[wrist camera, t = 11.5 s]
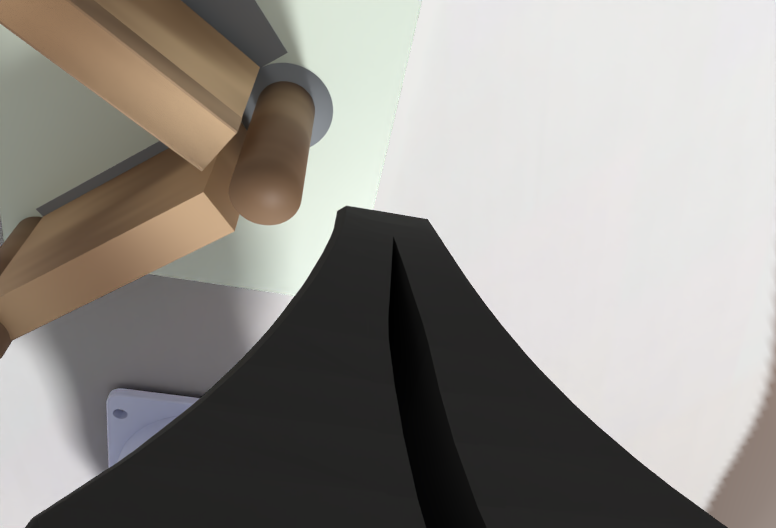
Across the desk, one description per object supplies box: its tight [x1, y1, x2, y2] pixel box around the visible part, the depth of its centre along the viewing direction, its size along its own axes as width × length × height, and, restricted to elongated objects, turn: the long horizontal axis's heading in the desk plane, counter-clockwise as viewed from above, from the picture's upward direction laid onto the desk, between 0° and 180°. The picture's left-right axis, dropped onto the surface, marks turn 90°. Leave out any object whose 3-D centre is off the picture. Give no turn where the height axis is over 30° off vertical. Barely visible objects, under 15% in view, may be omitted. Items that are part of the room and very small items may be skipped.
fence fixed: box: [0, 81, 315, 359], centre depth 18 cm, size 2×10×5 cm, turn 118°
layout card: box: [0, 0, 422, 296], centre depth 18 cm, size 16×11×1 cm
